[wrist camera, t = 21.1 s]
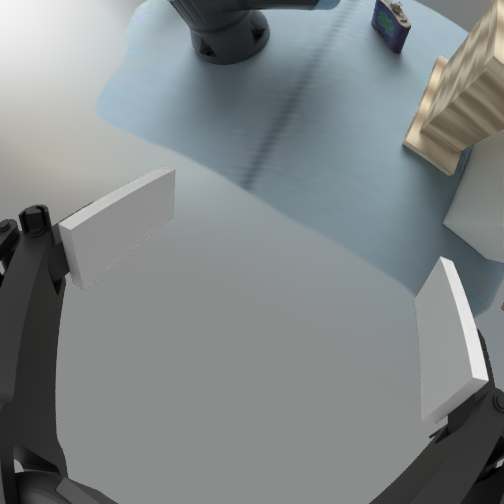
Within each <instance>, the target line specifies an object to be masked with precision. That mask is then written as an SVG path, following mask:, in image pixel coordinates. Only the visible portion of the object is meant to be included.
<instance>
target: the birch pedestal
mask: <svg viewBox="0 0 504 504" xmlns="http://www.w3.org/2000/svg"><path fill="white" fill-rule="evenodd" d="M503 129H504V0H492V2H491V5H490V6H489V7H488V9H487V10H486V12H485V13H484V14H483V16H482V17H481V19H480V20H479V21H478V23H477V24H476V25H475V27H474V28H473V30H472V31H471V32H470V34H469V35H468V36H467V38H466V39H465V40H464V42H463V43H462V44H461V46H460V47H459V48H458V50H457V51H456V52H455V54H454V55H453V56H452V58H451V59H450V60H449V61H448V60H446V59H445V58H443V57H442V56H440V55H439V56H438V58H437V59H436V61H435V64H434V67H433V70H432V73H431V75H430V78H429V81H428V83H427V86H426V89H425V91H424V94H423V96H422V99H421V101H420V104H419V106H418V109H417V111H416V113H415V116H414V118H413V121H412V123H411V125H410V128H409V130H408V132H407V134H406V137H405V139H404V141H403V143H402V144H403V145H405V146H406V147H408V148H409V149H411V150H412V151H414V152H415V153H417V154H418V155H420V156H421V157H423V158H424V159H426V160H427V161H428V162H430V163H431V164H433V165H434V166H435V167H437V168H438V169H440V170H441V171H442V172H444V173H445V174H446V175H448V176H451V175H453V174H454V172H455V169H456V167H457V164H458V161H459V159H460V156H461V153H462V150H463V149H465V148H467V147H469V146H471V145H473V144H475V143H477V142H479V141H481V140H483V139H485V138H487V137H489V136H491V135H493V134H495V133H497V132H499V131H501V130H503Z"/></svg>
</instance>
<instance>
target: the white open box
mask: <svg viewBox="0 0 504 504" xmlns="http://www.w3.org/2000/svg"><path fill="white" fill-rule="evenodd" d="M442 224H443V225H445V226H446V227H447V228H448V229H450V230H451V231H452V232H454V233H455V234H456V235H458V236H459V237H460V238H461V239H463V240H464V241H465V242H466V243H468V244H469V245H470V246H471V247H472V248H474V249H475V250H476V251H477V252H478V253H480V254H481V255H482V256H483V257H484V258H485V259H488V260H492V261H496V262H500V263H504V129H503V130H501V131H499V132H497V133H495V134H493V135H491V136H489V137H487V138H485V139H483V140H481V141H479V142H477V143H475V144H473V146H472V149H471V152H470V155H469V158H468V161H467V164H466V167H465V169H464V172H463V175H462V178H461V180H460V183H459V185H458V188H457V190H456V193H455V195H454V198H453V200H452V202H451V205H450V207H449V209H448V212H447V214H446V216H445V218H444V220H443V223H442Z"/></svg>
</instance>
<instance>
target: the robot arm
mask: <svg viewBox="0 0 504 504" xmlns="http://www.w3.org/2000/svg"><path fill="white" fill-rule="evenodd" d="M168 1H169V2H170V3H171V4H172V6H173V7H174V8H175V9H176V11H177V12H178V13H179V14H180V16H181V17H182V18H183V19H184V21H185V22H186V23H187V24H188V26H189V27H190V33H191V40H192V44H193V47H194V49H195V50H196V52H197V53H198V54H199V55H200V57H201V58H203V59H204V60H206V61H208V62H210V63H214V64H233V63H237V62H240V61H243V60H246V59H248V58H250V57H251V56H253V55H255V54H256V53H257V52H259V51H260V50H261V49H262V48H263V46H264V45H265V44H266V42H267V40H268V38H269V32H270V31H269V26H268V23H267V20H266V18H265V16H264V15H263V14H262V13H261V12H260V11H259V10H263V9H297V10H330V9H333V8H335V7H336V6H337V5H338V4H339V2H340V0H168ZM174 186H175V169H173V168H169V167H164V166H162V167H160V168H158V169H156V170H154V171H152V172H150V173H148V174H146V175H144V176H142V177H140V178H138V179H136V180H134V181H132V182H130V183H128V184H126V185H124V186H122V187H120V188H118V189H117V190H115V191H113V192H111V193H109V194H107V195H106V196H104V197H102V198H100V199H99V200H97V201H95V202H91V203H90V204H88V205H86V206H84V207H83V208H82V209H79V210H78V211H76V213H73V214H71V215H70V216H68V217H66V218H65V219H63V220H61V221H60V222H58V223H57V224H55V225H54V226H51V221H50V216H49V211H48V208H47V206H44V205H34V206H31V207H29V208H26V209H25V210H23V211H22V212H21V213H20V214H19V219H20V223H21V227H22V231H19V229H18V225H17V222H16V221H15V220H13V219H9V220H8V219H6V220H5V221H4V220H3V221H1V222H0V261H1V262H2V265H3V267H4V270H5V272H4V273H3V274H1V273H0V504H118V503H116V502H115V501H113V500H111V499H110V498H108V497H107V496H105V495H104V494H102V493H101V492H99V491H98V490H96V489H93V488H90V487H87V486H85V485H83V484H80V483H78V482H75V481H73V480H71V479H69V478H68V473H67V466H66V460H65V456H64V453H63V450H62V448H61V446H60V444H59V442H58V439H57V433H56V410H55V383H56V382H55V381H56V380H55V379H56V359H57V346H58V335H59V326H60V318H61V311H62V304H63V297H64V291H65V286H66V279H65V275H66V274H67V273H68V272H70V274H71V278H72V281H73V283H74V284H75V285H77V286H78V287H80V288H82V289H83V290H86V289H87V288H89V287H90V286H91V285H92V284H93V283H94V282H95V281H96V280H98V279H99V278H100V277H101V276H102V275H103V274H104V273H106V272H107V271H108V270H109V269H110V268H111V267H112V266H114V265H115V264H116V263H117V262H118V261H120V260H121V259H122V258H123V257H124V256H126V255H127V254H128V253H129V252H131V251H132V250H133V249H134V248H135V247H137V246H138V245H139V244H140V243H142V242H143V241H144V240H145V239H146V238H148V237H149V236H150V235H152V234H153V233H154V232H155V231H157V230H158V229H159V228H160V227H161V226H163V225H164V224H165V223H167V222H168V221H169V220H171V219H172V218H173V213H174V211H173V210H174ZM414 306H415V314H416V322H417V331H418V342H419V354H420V371H421V421H427V422H433V423H438V422H439V421H440V420H442V419H443V418H444V417H446V416H447V415H448V424H446V425H445V426H444V427H442V428H441V429H439V430H438V431H436V432H435V433H433V434H432V435H430V436H429V438H432V437H433V436H435V437H434V439H433V440H432V441H431V442H430V443H429V444H428V446H427V447H426V448H425V449H424V450H423V451H422V453H421V454H420V455H419V456H418V457H417V458H416V459H415V460H414V461H413V462H412V464H411V465H410V466H409V467H408V468H407V469H406V470H405V471H404V472H403V473H402V474H401V475H400V476H399V477H398V478H397V479H396V480H395V481H394V482H393V483H392V484H391V485H390V486H388V487H387V488H386V489H385V490H384V491H383V492H382V493H381V494H380V495H379V496H377V497H376V498H375V499H374V500H373V501H372V502H371V503H369V504H504V462H503V464H502V466H500V467H498V468H496V466H497V462H498V461H500V460H502V459H504V393H503V392H502V391H501V390H500V389H497V388H495V383H494V378H493V373H492V368H491V364H490V361H489V356H488V352H487V348H486V344H485V340H484V338H483V336H482V335H481V333H480V331H479V329H476V326H475V323H474V319H473V316H472V313H471V310H470V307H469V304H468V301H467V298H466V295H465V292H464V289H463V287H462V284H461V281H460V279H459V276H458V273H457V271H456V268H455V266H454V264H453V261H450V260H448V259H446V258H443V257H441V256H440V257H439V259H438V261H437V263H436V264H435V266H434V268H433V270H432V271H431V273H430V275H429V277H428V278H427V280H426V282H425V283H424V285H423V287H422V288H421V290H420V291H419V293H418V295H417V296H416V298H415V299H414ZM14 459H16V460H17V461H19V462H20V463H21V465H22V467H23V470H24V472H19V473H15V470H14Z"/></svg>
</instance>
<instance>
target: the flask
mask: <svg viewBox="0 0 504 504" xmlns="http://www.w3.org/2000/svg"><path fill="white" fill-rule="evenodd" d="M398 3H400V2H398ZM398 3H397V2H395V3H394V2H393V1H392V0H376V4H375V9H374V14H373V17H372V21H371V23H372V25H373V27H374V28H376V30H377V31H378V32H379V34H380V36H381V37H383V38H384V39H385V42H386V43H387V44H388V46H389V48H390V50H391V51H393V52H394V53H400V52H401V50H402V48H403V45H404V43H405V40H406V37H407V35H408V33H409V30H410V28H411V24H410V22H409V21H408V19H407V17H406V15H405V14H404V13H403V11H402V9H401V8H400V5H401V6H403V5H402V3H400V5H399V4H398Z"/></svg>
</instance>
